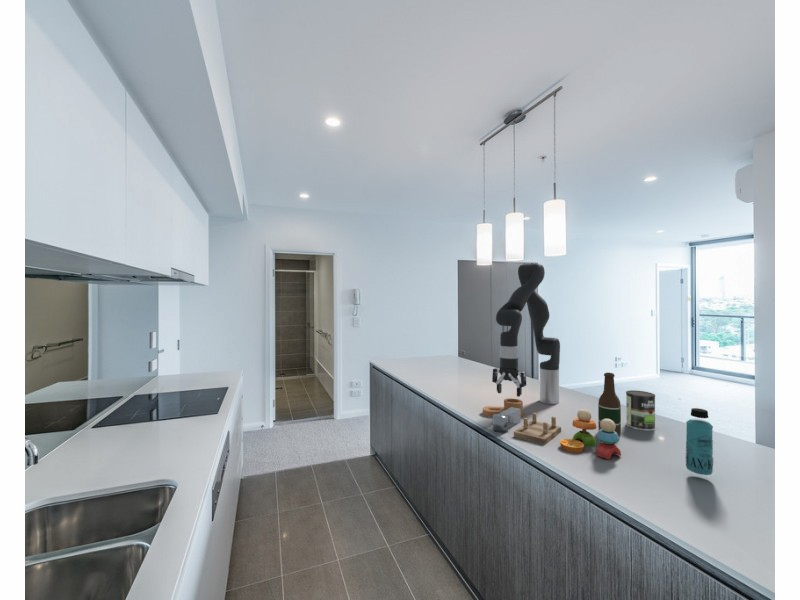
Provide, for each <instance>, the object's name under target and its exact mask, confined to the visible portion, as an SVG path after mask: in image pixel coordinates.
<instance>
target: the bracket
mask: <svg viewBox="0 0 800 600" xmlns="http://www.w3.org/2000/svg"><path fill="white" fill-rule="evenodd" d="M511 407H514V408H519V409H520V411H521V418H523V414H524V409H523V407H524V403H523V400H522V399H520V398H519V399H518V398H505V399H503V406H489V405H488V406H483V407H482V415H483V416H485V417H490V418H493V415H494V414H499V413H501V412H503V411H505V410H507V409H509V408H511Z"/></svg>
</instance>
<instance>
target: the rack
mask: <svg viewBox="0 0 800 600" xmlns="http://www.w3.org/2000/svg"><path fill="white" fill-rule="evenodd" d="M531 414H532V420H530V421H529V420H528V418H527V417H524V418H523V425H522V426H521V427H518V429H515V430H514V431H513V438H517V439H520V440H525V441H529V442H533V443H536V444H540V445H543V446H545V445H547V444H548V443H549V442H550V441H552V440H553V439H554V438H555V437H557V435H559V434H560V433H562V426H558V425H557V420H556V419H557V417H556V416H551V417H550V418H551V423H548V422H546V421H544V422H541V421H537V413H536V412H532V413H531Z"/></svg>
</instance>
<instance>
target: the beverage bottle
mask: <svg viewBox="0 0 800 600" xmlns="http://www.w3.org/2000/svg"><path fill="white" fill-rule="evenodd" d="M690 416H692V417H695V418H690V419H689V420H687V421H686V422H685V423H686V438H685V439H686V440H685V462H684V463H685V467H686V470H688V471H690V472H691V473H695V474H698V475H703V476H710V475H712V474H713V472H714V470H713V469H714V457H713V455H714V453H713V452H714V451H713V450H714V449H713V448H714V447H713V445H714V440H713V432H714V430H713V429H714V426H713V425H712V423H710V422H709V421H707V420H705V419H709V413H708V410H706V409H704V408H697V407H696V408H695V407H693V408H691V410H690Z"/></svg>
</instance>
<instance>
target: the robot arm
mask: <svg viewBox="0 0 800 600" xmlns="http://www.w3.org/2000/svg"><path fill="white" fill-rule="evenodd" d="M545 272H546V271H545V267H544V265H542V263H536V262H534V263H525V264H520V265H519V266H518V269H517V275H518V280H519V283H520V286H519V287H517V288H516V289H515V290H514V291H513V292H512V294H511V295H510V297H509V299H508V301H507V302H506V303H504V305H503V306H502V307H500V308H499V309H498V311H497V312H496V315H495V322H496V323H497V324H498V326H499V325H500V326H501V327H509V330H507V331H506V330H505V331H503V332H501V333H500V339H499V340H500V341H499V342H500V344H499V346H500V348H499V368H498V367H495V368H493V369H492V376H491V377H492V378H491V379H492V380H491V381H492V383H495V384H496V392H497V394H502V386H503V385H502V382H503V381H509V382H513V384H515V385H516V397H518V398H519V397H521V396H522V392H523V391H522V390H523V388H524V387H526V386H527V376H526V375H527V374H526V371H519V346H518V344H519V343H518V342H519V341H518V339H519V338H518V337H519V332H520V328H521V325H522V321H523V315H522V313H521V312H522V311H523V310H524V308H525V306H526V305H527V310H528V315H529V319H530V321H531V325H532V329H533V330H532V331H533V334H534V343H535V348H536V351H537V353H538V355H542V356H550V358H549V359H548V360H546V361H545V360H544V361H541V362H540V363H539V401H540V402H541V403H543V404H547V405H557V404H560V362H561V360H560V359H561V358H560V356H561V353H560V352H561V341H560V340H559V338H557V337H547V336H544V329H545V327H546V325H547V323H549V319H550V310H549V307H548V304H547V302H546V300H545V299H544V298H543V297H542V296H541V295H540V294H539V293H538V292H537V291H536V289H537V288H538V287H539V286H540V285H541V283H542V282H543V280H544V278H545ZM499 374H500V376H499ZM518 376H519V377H518ZM519 378H520V379H519Z"/></svg>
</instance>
